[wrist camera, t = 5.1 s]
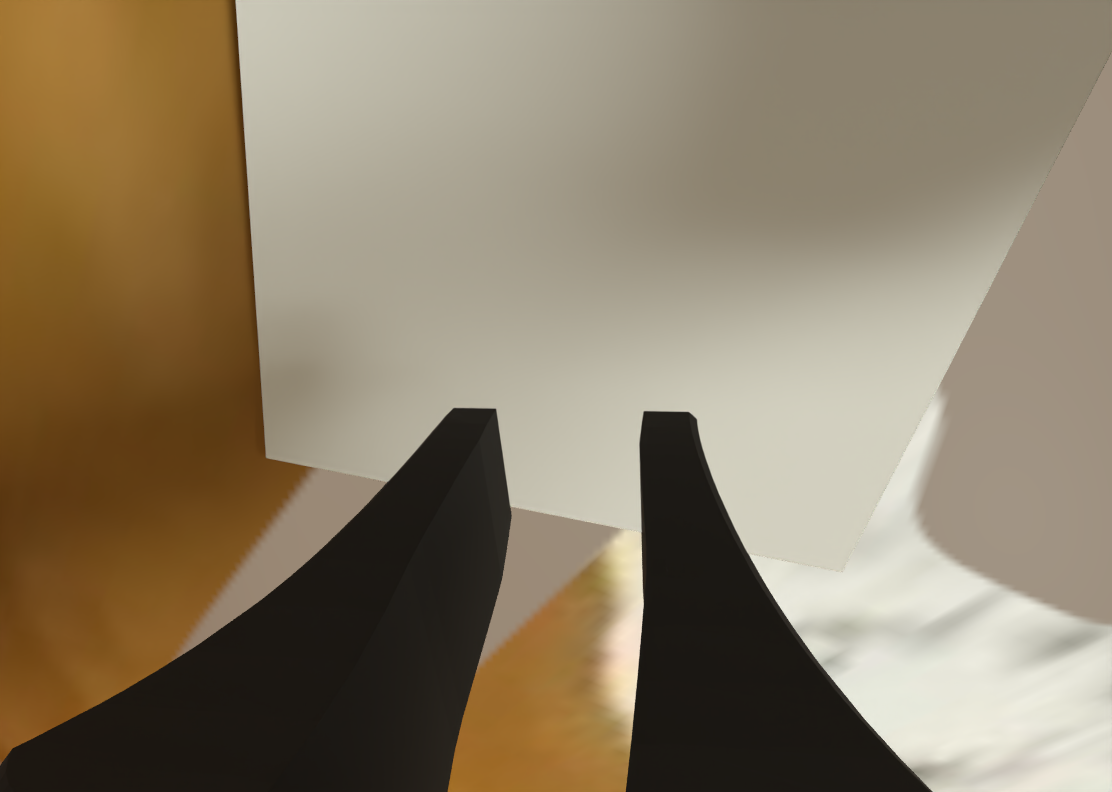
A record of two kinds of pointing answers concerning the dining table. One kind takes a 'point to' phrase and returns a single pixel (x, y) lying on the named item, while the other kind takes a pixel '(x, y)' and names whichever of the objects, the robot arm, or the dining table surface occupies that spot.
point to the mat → (643, 231)
